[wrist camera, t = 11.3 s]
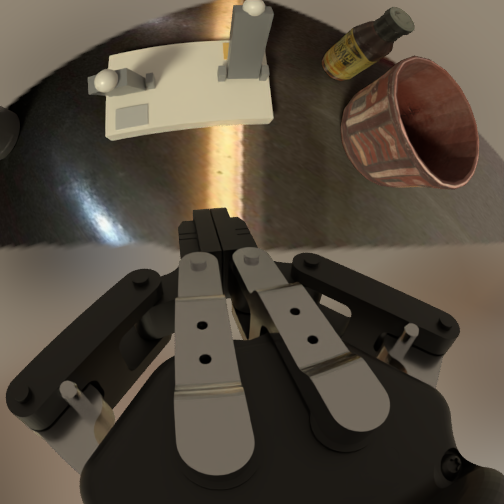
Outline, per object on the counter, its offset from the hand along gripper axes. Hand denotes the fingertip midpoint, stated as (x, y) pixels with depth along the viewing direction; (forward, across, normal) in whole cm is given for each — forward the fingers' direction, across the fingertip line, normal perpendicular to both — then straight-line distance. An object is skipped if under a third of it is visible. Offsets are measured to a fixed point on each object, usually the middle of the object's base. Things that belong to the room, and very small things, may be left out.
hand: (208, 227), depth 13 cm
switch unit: (+34, 0, -6) cm, 35 cm away
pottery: (+28, -31, 0) cm, 42 cm away
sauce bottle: (+34, -26, -12) cm, 44 cm away
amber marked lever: (+31, -8, -8) cm, 33 cm away
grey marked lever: (+32, +8, -7) cm, 33 cm away
